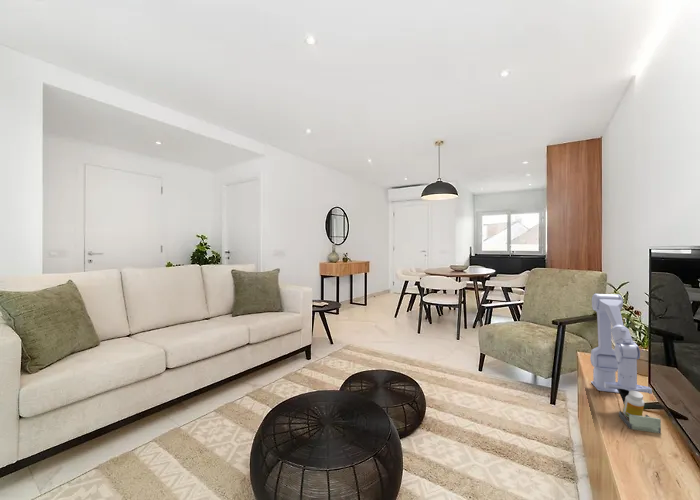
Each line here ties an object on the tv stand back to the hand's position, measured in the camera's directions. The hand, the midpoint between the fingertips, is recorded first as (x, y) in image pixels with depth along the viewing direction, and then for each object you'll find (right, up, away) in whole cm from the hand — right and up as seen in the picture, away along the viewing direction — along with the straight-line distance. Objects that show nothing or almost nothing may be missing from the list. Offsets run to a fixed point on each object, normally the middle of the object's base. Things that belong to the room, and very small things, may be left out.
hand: (627, 408), depth 124 cm
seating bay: (-3, -2, -8) cm, 8 cm away
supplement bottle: (-1, -1, -3) cm, 4 cm away
